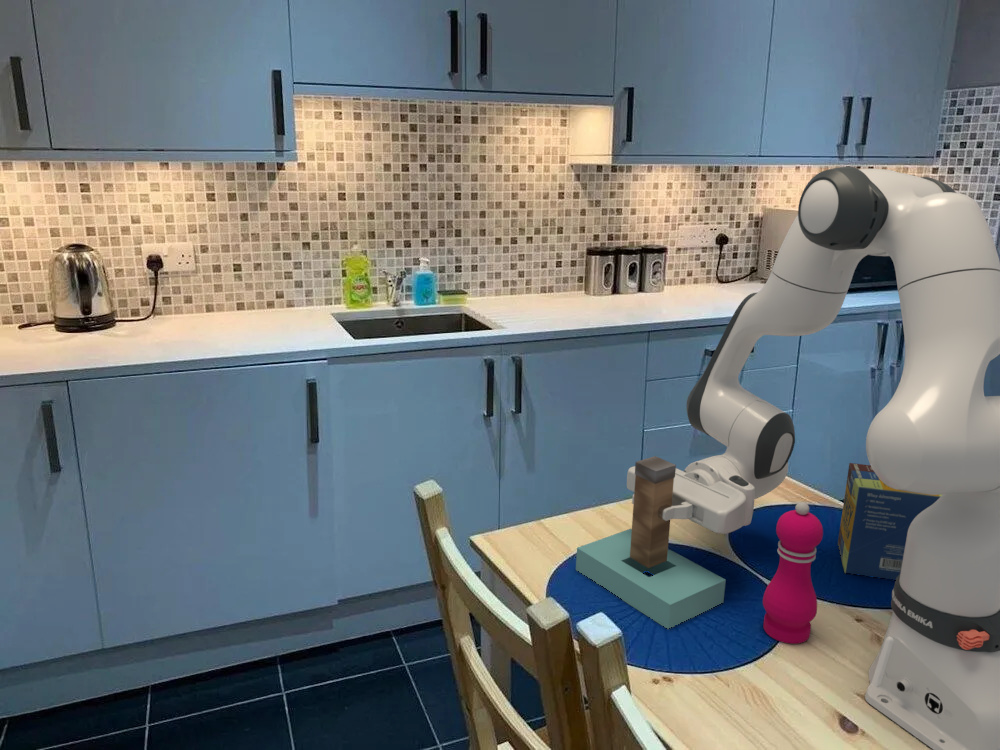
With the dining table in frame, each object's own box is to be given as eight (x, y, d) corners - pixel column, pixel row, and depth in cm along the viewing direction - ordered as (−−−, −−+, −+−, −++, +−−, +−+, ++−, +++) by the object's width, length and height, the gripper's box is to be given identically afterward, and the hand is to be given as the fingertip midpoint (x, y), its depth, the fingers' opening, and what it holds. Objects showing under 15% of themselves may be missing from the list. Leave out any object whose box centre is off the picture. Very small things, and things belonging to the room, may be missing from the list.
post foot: (723, 603, 121) (725, 579, 120) (668, 629, 114) (670, 604, 113) (629, 549, 136) (630, 528, 135) (575, 570, 130) (576, 547, 129)
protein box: (836, 544, 139) (848, 461, 135) (933, 557, 136) (949, 472, 131) (843, 574, 130) (856, 486, 125) (948, 589, 126) (966, 498, 122)
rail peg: (667, 560, 124) (675, 465, 119) (648, 568, 121) (656, 471, 117) (648, 549, 127) (655, 456, 122) (628, 557, 125) (635, 461, 120)
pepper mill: (748, 623, 116) (763, 496, 110) (787, 612, 119) (804, 488, 113) (784, 651, 110) (801, 518, 104) (824, 639, 112) (843, 509, 107)
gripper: (662, 447, 136) (602, 465, 128) (763, 490, 120) (701, 513, 112) (660, 482, 138) (600, 501, 130) (759, 528, 122) (697, 553, 114)
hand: (648, 507), depth 121 cm, fingers closed on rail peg, 4 cm apart
